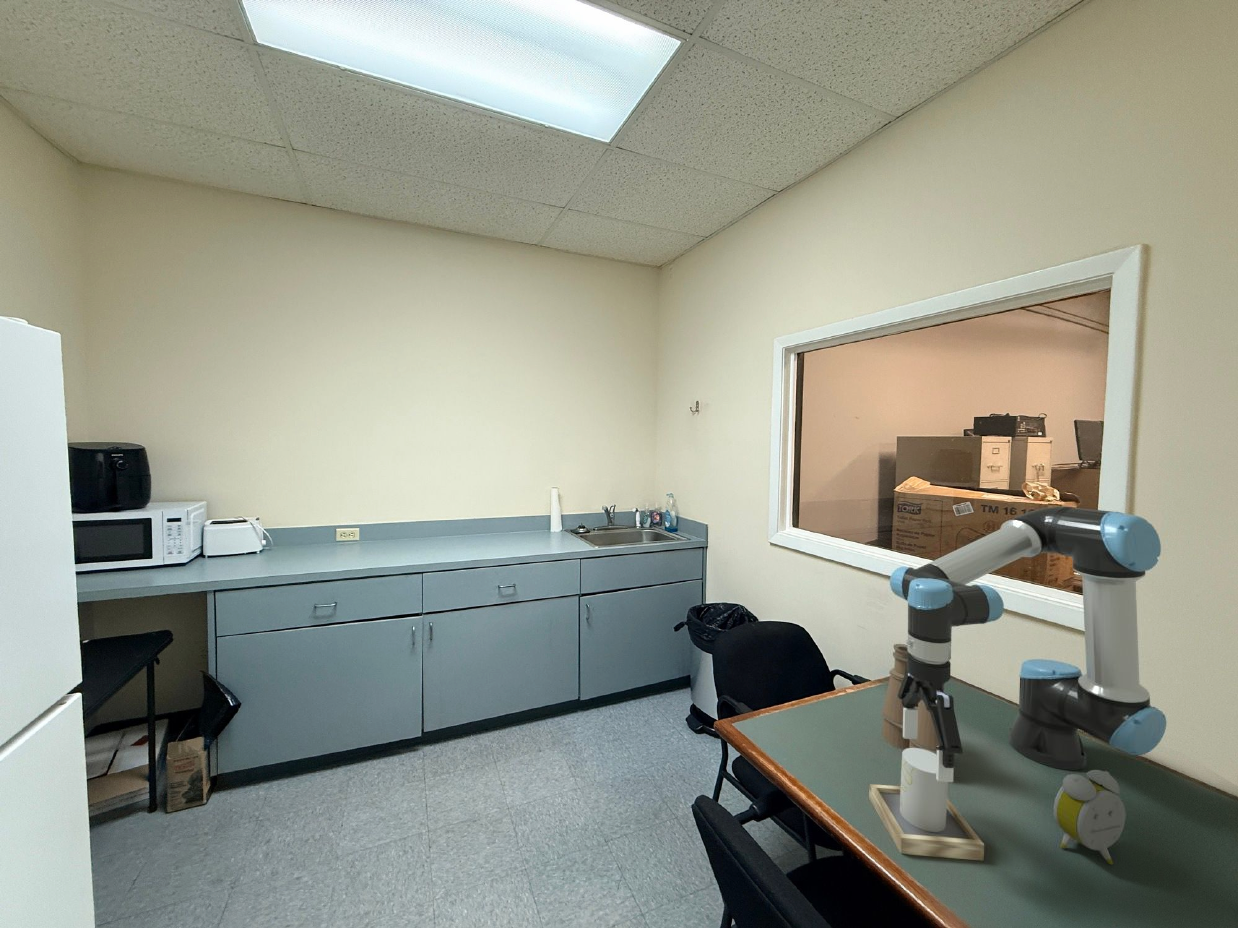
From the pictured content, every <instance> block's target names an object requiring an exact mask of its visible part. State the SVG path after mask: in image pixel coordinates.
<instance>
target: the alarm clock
mask: <svg viewBox="0 0 1238 928" xmlns="http://www.w3.org/2000/svg"><path fill="white" fill-rule="evenodd" d="M1086 776H1087V777H1086ZM1118 794H1120V786H1119V783H1118V782H1117V781H1116V779H1115V778H1114V777H1113V776H1112V775H1111V774H1110V772H1109V771H1106V770H1105V771H1103V770H1099V769H1092V770H1089V771H1088V772H1086V774H1085V776H1083V775H1081V774H1078V773H1077V774H1076V773H1071V774H1068V775H1065V776H1064V778H1063V780H1062V786H1061V787H1060V788H1059V790H1058V792H1057V793H1056V796H1055V798H1054V804H1053V808H1052V809H1053V817H1054V821H1055V822H1056V824H1057V826H1058V827H1059V829H1061V830H1062V831H1063V832H1064V834H1063V837H1062V841H1061V843H1060V846H1059V847H1061V848H1062V849H1064V850H1066V849H1067V848H1068V847H1069V846H1070V845H1071V844H1072V843H1073V842H1074V841H1076V842H1078V843H1080V844H1081V845H1082V846H1084V847H1086V848H1088V849H1089V850H1093V851H1099V853H1100V854H1101V855H1102V857H1103V858H1104V860H1105V861H1106V862H1107V864H1108V865H1113V864H1114V862H1113V859H1112V857H1111V855H1110V852H1109V850H1108V848H1110V847H1112V846H1113V845H1115V843H1116V842H1117V841H1118V840H1119V839H1120V836H1121V835H1122V832H1123V831H1124V827H1125V822H1126V817H1127V816H1126V814H1127V813H1126V808H1125V805H1124V802H1123V801H1122V799H1121V798H1120V796H1118Z"/></svg>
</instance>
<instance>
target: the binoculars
mask: <svg viewBox="0 0 1238 928" xmlns="http://www.w3.org/2000/svg"><path fill="white" fill-rule="evenodd" d="M893 649H894V651H893V652H892V656H893V658H894V667H893V668H891V669H890V671H889V672H888V673H889V675H890V676H889V680H888V684H887V690H886V694H885V695H886V696H885V700H884V705H883V708H882V709H881V710H880V714H881V716H882V724H881V725H882V729H881V738H882V739H883V740H884V741H885V742H886V743H887V744H889V745H891V746H893V747H896V748H898V749H901V750H905V749H907V748H920V749H924V750H927V751H930V752H933V753H935V754H937V748H936V747H937V746H940V745H939V741H938V738H937V735H936V731H935V728H934V724H933V721H932V718H931V714H930V712H929V711H927V709H926V706H925V703H924V702H923V700H921V701H920V702H919V703H918V706H919V707H913V708H917V710H918V734H917V739H904V737H903V708H904V706H902V699H899V698H898V692H899V690H900V687H901V684H902V681H903V678H904V675H905V668H906V665H907V654H908V653H909V652H908V644H904V643H894V644H893ZM942 686H943V692H944V694H945V695H947V693H945V683H944V684H943V685H942ZM905 694H907V693H905ZM931 706H937V705H931Z"/></svg>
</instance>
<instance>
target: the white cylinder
mask: <svg viewBox="0 0 1238 928" xmlns="http://www.w3.org/2000/svg"><path fill="white" fill-rule="evenodd" d="M902 750H903V751H902V752H901V769H900V770H901V772H900V786H901V790H900V813H901V815H902V816H903V817H904V818H905V819H906V820H907V821H908V822H909V823H911V824H912V825H914V826H916V827H918V828H920V829H922V830H925V831H930V832H940V831H942V830H944V829H945V827H946V812H947V798H948V788H949V787H948V786H949V782H940V781H938V780H937V779H936V765H937V754H935V753H933V752H930V751H927V750H924V749H920V748H907V749H905V750H904V749H902Z"/></svg>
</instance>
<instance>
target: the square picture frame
mask: <svg viewBox="0 0 1238 928" xmlns="http://www.w3.org/2000/svg"><path fill="white" fill-rule="evenodd" d="M868 789H869V790H868V791H869V792H868V798H869V800H870V802H871V805H872V806H873V807H874V809H875V811H876V813H877V814H878V816H879V818H880V820H881V821H882V824H883V825H884V826H885V828H886V830H887V832H888V834H889V836H890V838H891V840H893V843H894V845H895V846H896V848H897V851H898V852H899V853H900V854H901V855H910V856H911V855H913V856H921V857H922V856H924V857H926V856H927V857H936V858H946V859H947V858H949V859H961V860H970V861H971V860H973V861H982V862H983V861H984V859H985V858H984V856H985V843H984V842H983V841H982V839H981V838H980V837H979V836H978V834H977V833H976V832H975V831H974V829H973V828H972V827H971V826H970V825H969V823H968V822H967V820H966V819H965V818H964V817H963V815H962V814H961V813H960V812H959V810H958V809H957V808H956V806H955V805H954V804H953V803H952V802H951V800H950V799H949V797H947V812H946V827H945V829H944V830H942V831H940V832H930V831H925V830H922V829H920V828H918V827H916V826H914V825H912V824H911V823H909V822H908V821H907V820H906V819H905V818H904V817H903V816H902V815H901V813H900V790H901V785H900V786H899V785H884V784H875V783H874V784H872V783H870V784H869V788H868Z"/></svg>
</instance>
